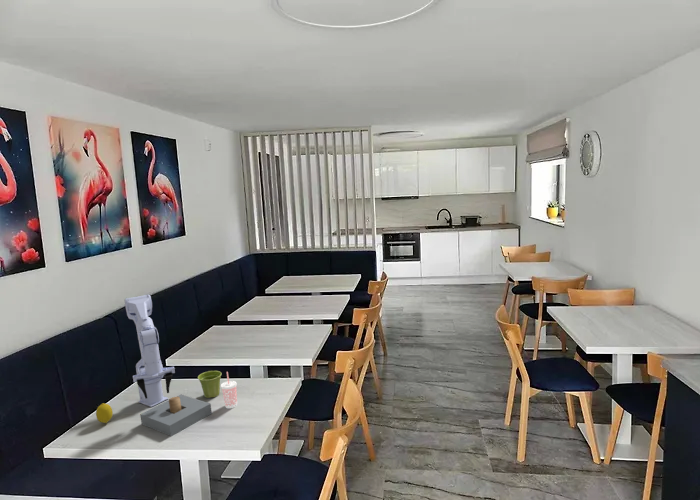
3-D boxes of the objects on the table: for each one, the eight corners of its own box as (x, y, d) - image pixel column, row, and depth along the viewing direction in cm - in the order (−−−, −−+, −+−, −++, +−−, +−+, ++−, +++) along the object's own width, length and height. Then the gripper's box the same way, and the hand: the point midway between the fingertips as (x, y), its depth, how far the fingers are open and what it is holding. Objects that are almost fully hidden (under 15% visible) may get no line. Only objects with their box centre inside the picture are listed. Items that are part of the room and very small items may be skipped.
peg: (169, 420, 183) (166, 400, 181) (178, 415, 186) (175, 395, 185) (175, 422, 180) (173, 402, 179) (184, 417, 184) (182, 397, 182)
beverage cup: (220, 408, 189) (215, 374, 187) (229, 401, 195) (225, 368, 192) (233, 410, 187) (229, 375, 185) (242, 402, 192) (238, 369, 190)
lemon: (117, 420, 186) (114, 400, 185) (105, 427, 181) (102, 407, 180) (106, 418, 188) (102, 399, 186) (94, 426, 183) (91, 406, 181)
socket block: (141, 424, 181) (140, 414, 180) (182, 403, 196) (181, 394, 195) (171, 436, 171) (169, 425, 170) (211, 413, 185) (210, 403, 185)
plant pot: (214, 388, 208) (211, 369, 207) (228, 392, 203) (226, 373, 201) (195, 397, 201) (193, 377, 199) (210, 402, 195) (207, 381, 194)
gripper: (131, 369, 175) (136, 404, 177) (173, 359, 181) (178, 393, 183) (130, 362, 181) (136, 396, 183) (171, 353, 187) (176, 386, 189)
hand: (157, 394), depth 184 cm, fingers open, 7 cm apart
